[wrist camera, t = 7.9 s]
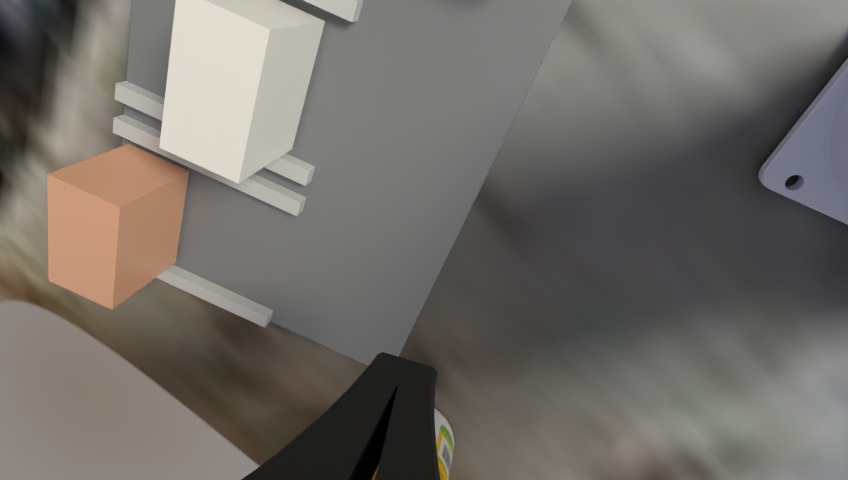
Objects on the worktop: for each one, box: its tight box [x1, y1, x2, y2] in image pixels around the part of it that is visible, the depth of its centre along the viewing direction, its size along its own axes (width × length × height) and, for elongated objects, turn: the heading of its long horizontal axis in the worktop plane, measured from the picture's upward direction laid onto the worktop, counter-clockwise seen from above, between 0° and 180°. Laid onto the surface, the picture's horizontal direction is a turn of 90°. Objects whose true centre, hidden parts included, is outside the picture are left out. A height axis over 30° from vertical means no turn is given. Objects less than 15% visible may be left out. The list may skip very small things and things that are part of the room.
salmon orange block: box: [47, 144, 189, 310], centre depth 18 cm, size 2×4×4 cm, turn 158°
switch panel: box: [113, 0, 572, 366], centre depth 16 cm, size 13×22×4 cm, turn 158°
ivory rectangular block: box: [159, 0, 325, 184], centre depth 15 cm, size 2×4×4 cm, turn 159°
